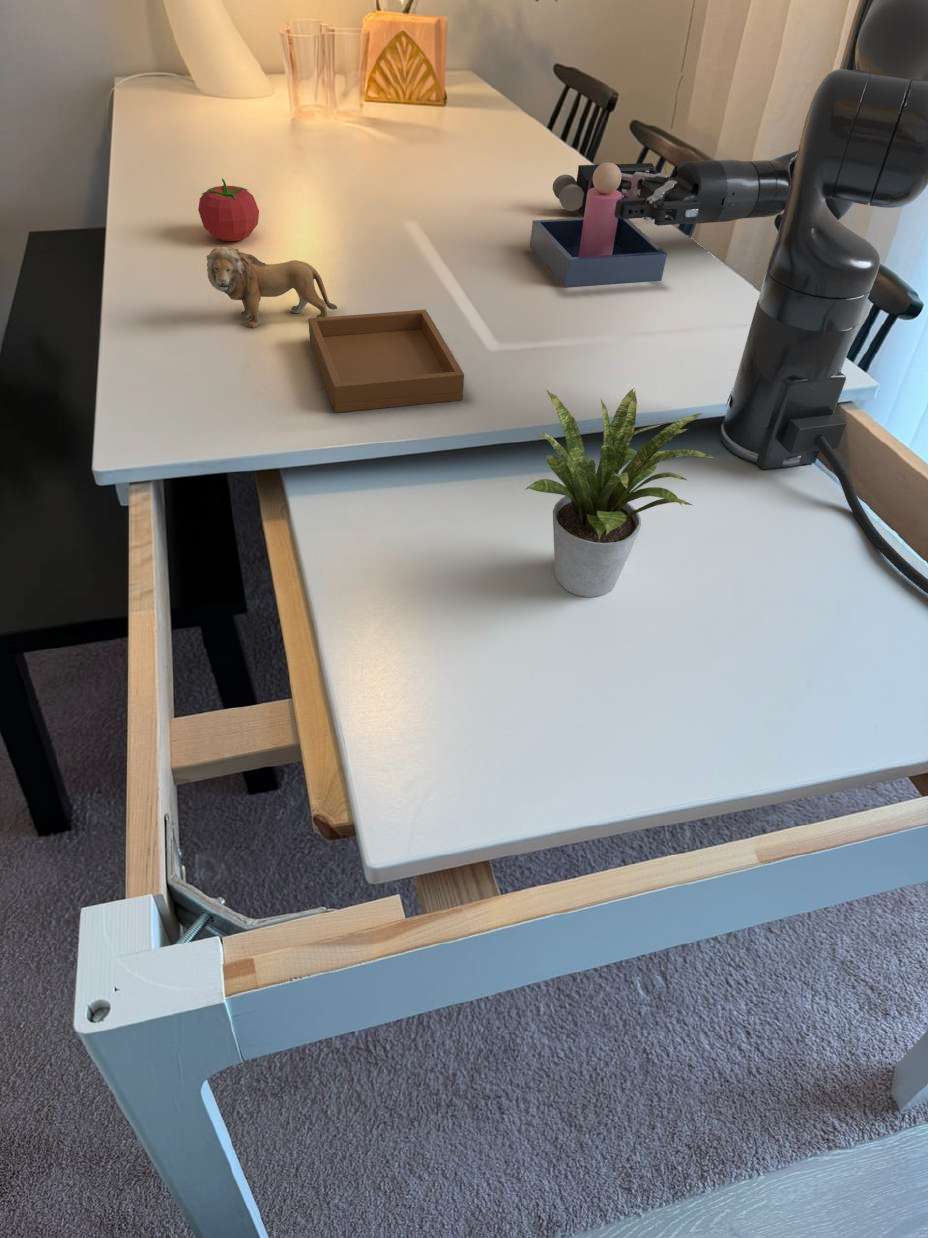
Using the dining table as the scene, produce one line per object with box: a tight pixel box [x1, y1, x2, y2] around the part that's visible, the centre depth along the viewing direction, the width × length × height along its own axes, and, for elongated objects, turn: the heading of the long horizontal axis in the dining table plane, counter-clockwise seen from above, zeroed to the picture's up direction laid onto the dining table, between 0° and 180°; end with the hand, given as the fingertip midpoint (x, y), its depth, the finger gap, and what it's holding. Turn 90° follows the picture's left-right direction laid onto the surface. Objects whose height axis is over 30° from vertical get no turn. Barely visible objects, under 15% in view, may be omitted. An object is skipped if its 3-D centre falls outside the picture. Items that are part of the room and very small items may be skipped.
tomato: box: [197, 178, 260, 242], centre depth 123 cm, size 8×8×8 cm
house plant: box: [524, 388, 716, 598], centre depth 71 cm, size 14×14×16 cm
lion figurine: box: [206, 246, 338, 329], centre depth 106 cm, size 15×5×9 cm, turn 113°
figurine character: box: [552, 162, 659, 216], centre depth 137 cm, size 7×8×15 cm
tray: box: [307, 309, 465, 414], centre depth 100 cm, size 16×14×3 cm
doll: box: [578, 161, 622, 257], centre depth 120 cm, size 4×4×13 cm
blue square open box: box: [529, 217, 668, 289], centre depth 123 cm, size 14×14×4 cm
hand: (602, 197), depth 118 cm, fingers open, 8 cm apart
